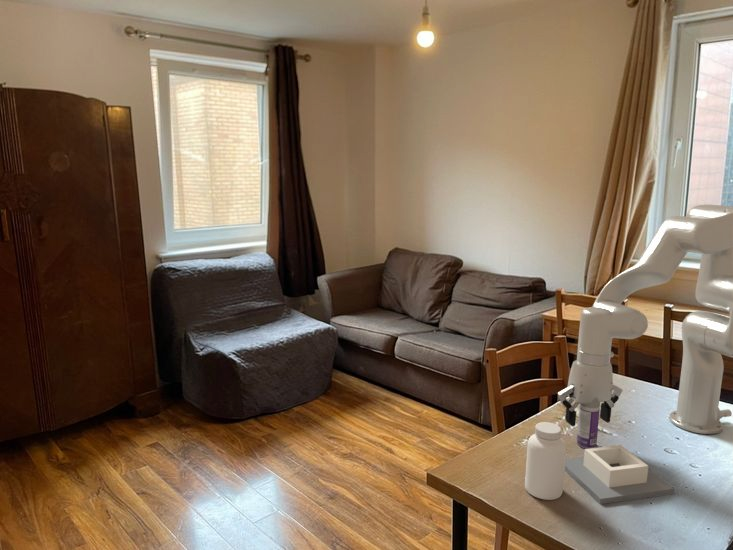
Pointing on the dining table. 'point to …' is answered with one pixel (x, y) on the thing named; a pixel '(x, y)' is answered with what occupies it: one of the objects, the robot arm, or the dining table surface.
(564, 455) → the pill bottle
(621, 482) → the square socket holder
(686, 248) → the robot arm
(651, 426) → the dining table surface
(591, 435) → the container
